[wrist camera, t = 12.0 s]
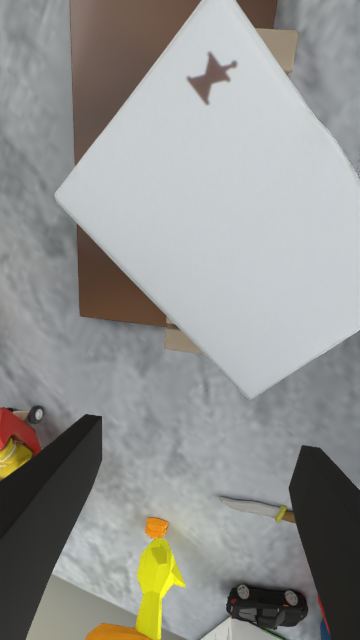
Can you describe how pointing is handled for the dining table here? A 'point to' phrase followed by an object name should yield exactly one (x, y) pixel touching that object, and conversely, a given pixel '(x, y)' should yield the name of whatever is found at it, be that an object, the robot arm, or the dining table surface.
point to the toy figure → (148, 589)
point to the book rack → (106, 100)
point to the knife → (260, 509)
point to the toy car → (266, 607)
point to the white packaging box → (238, 631)
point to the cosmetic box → (227, 203)
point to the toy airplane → (17, 438)
